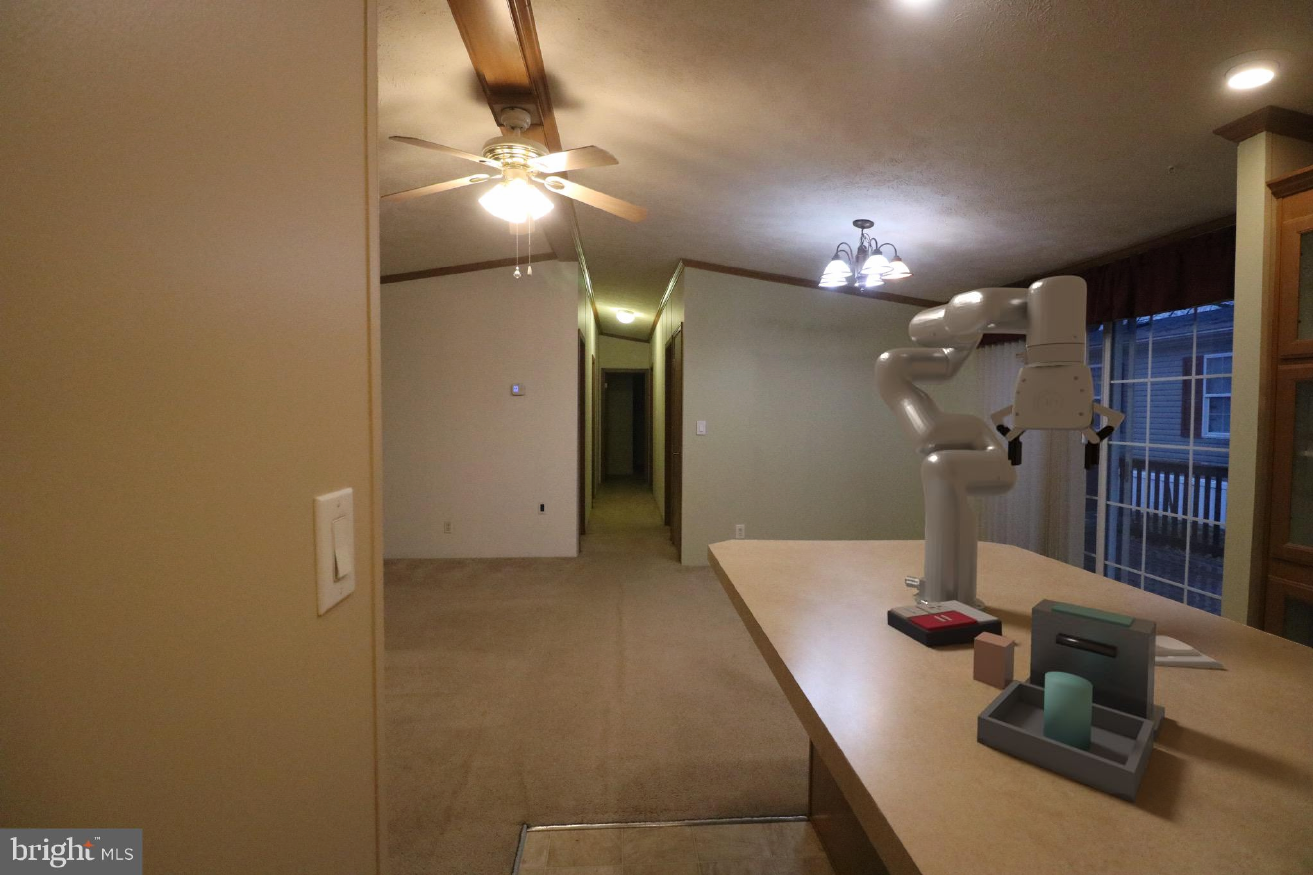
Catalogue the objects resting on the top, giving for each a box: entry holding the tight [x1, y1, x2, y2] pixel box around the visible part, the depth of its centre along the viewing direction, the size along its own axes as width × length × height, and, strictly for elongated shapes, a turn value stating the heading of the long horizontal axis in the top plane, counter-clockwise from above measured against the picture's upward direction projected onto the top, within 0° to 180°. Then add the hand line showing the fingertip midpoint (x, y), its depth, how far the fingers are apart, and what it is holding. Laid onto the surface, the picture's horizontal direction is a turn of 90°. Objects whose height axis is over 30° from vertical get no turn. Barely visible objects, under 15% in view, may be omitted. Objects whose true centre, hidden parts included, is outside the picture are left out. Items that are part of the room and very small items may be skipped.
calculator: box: [886, 600, 1003, 648], centre depth 99 cm, size 11×4×15 cm
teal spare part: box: [1043, 672, 1093, 751], centre depth 64 cm, size 4×4×7 cm
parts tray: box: [976, 679, 1155, 804], centre depth 65 cm, size 14×14×3 cm
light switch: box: [1155, 634, 1224, 670], centre depth 91 cm, size 11×4×13 cm
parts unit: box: [1024, 598, 1166, 742], centre depth 73 cm, size 14×8×12 cm, turn 42°
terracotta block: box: [972, 632, 1015, 690], centre depth 81 cm, size 4×4×6 cm
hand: (1051, 467), depth 88 cm, fingers open, 9 cm apart
